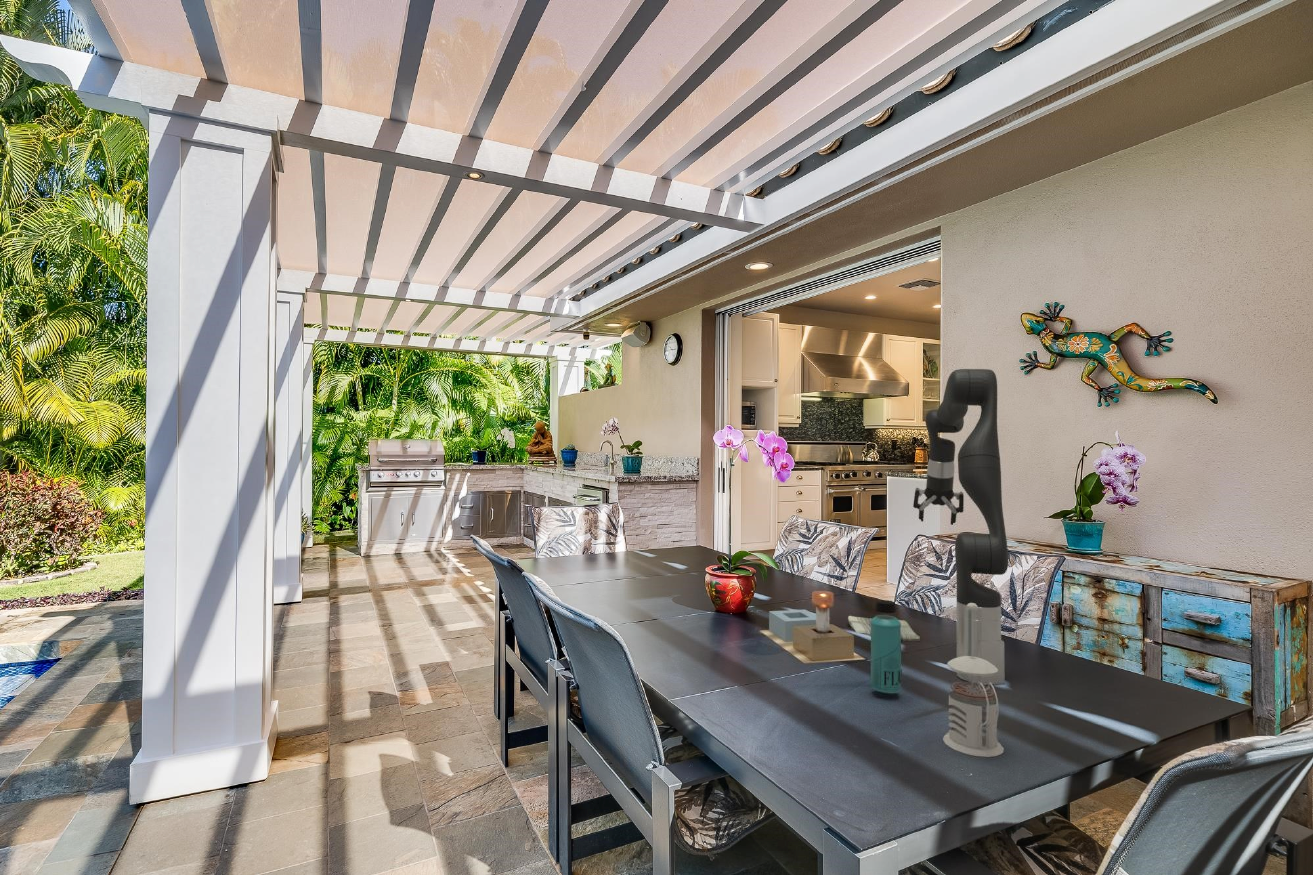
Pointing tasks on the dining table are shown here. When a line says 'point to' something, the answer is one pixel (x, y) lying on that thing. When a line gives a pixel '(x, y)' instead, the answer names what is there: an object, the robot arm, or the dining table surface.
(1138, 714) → the dining table surface
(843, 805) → the dining table surface
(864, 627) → the dish towel
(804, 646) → the tan holed block
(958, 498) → the robot arm
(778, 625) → the socket block
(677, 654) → the dining table surface
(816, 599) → the steel peg
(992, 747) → the french press
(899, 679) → the beverage bottle
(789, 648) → the oak board
